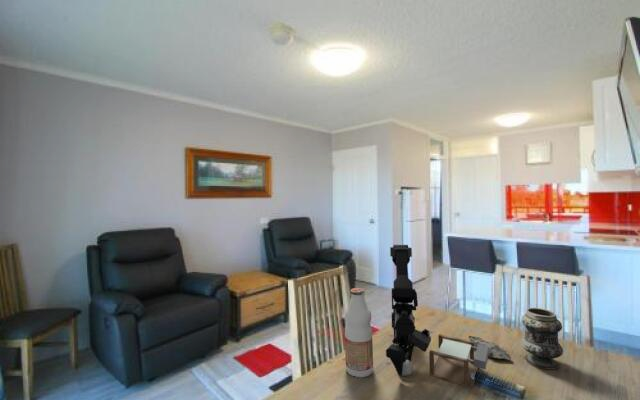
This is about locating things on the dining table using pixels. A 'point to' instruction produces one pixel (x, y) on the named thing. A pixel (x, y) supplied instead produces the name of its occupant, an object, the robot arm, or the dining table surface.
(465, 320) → the dining table surface
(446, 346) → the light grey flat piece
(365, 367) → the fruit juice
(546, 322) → the apothecary jar
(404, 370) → the garlic
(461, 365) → the stand
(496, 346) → the mineral rock
